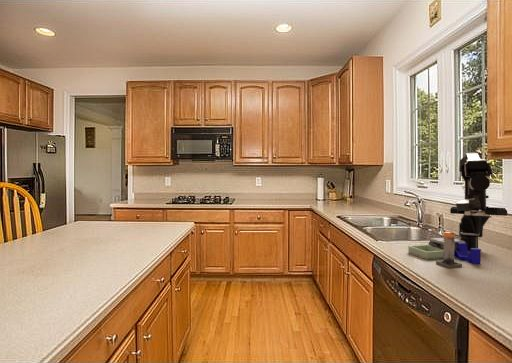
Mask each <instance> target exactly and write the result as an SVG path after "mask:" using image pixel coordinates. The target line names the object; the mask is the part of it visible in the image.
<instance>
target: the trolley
mask: <svg viewBox="0 0 512 363" xmlns="http://www.w3.org/2000/svg"><path fill="white" fill-rule="evenodd" d="M429 240H430V241H429V242H428V243H427V245H429V246H433V247H434V248H433V250H435V247H436V248H439V249H443V250H444V237H434V238H429ZM457 243H465V241H463V240H460V239H459V238H455V250H457ZM454 253H455V251H454Z"/></svg>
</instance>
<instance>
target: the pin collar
mask: <svg viewBox="0 0 512 363" xmlns="http://www.w3.org/2000/svg"><path fill="white" fill-rule="evenodd" d="M435 264H436V265H439V266H441V267H445V268H447V269H451V268H452V269H454V268H462V267H463V264H462V263H460V262H456V261H454V264H451V265H448V264H445V263H444V260H436V261H435Z"/></svg>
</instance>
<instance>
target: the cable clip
mask: <svg viewBox="0 0 512 363" xmlns="http://www.w3.org/2000/svg"><path fill="white" fill-rule="evenodd" d="M481 251H482V249H481V248H479V247H478V248H470V251H468V249H467V243H457V250H455V253H454V258H455V259H458V260H459V261H465V262H467V263H469V264H471V265H482V264H481V262H482V261H481V258H482V256H481V254H482V252H481Z"/></svg>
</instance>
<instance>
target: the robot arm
mask: <svg viewBox="0 0 512 363" xmlns="http://www.w3.org/2000/svg"><path fill="white" fill-rule="evenodd" d="M491 166H492V165H491V164H490V163H489V162H488V160H487V159H486V158H485V159H484V158H483V159H482V158H481V157H480V154H479V153H478V152H467V153H464V156H463V157H462V158H461V159H460V160H459V163H458V171H459V173H460V177H461V178H462V179H463V181H464V199H462V200H460V201H456V202H455V206H451V207H450V209H449V211H450V212H449V214H451V215H452V214H453V215H455V214H457V215H462V216H461V218H460V222H458V236H459V237H460V239H459V240H463V241H465V243H467V249H468V252H470V248H479V238H482V237H483V231H484V227H485V225H486V223H487V221H488V220H489V218H492V216H506V217H508V210H507V209H506V207H492V206H491V207H489V206H488V205H487V199H489V198H490V197H489V195H488V194H487V189H488V188H489V187H490V185H491V181H490V179H489V178H488V177H491V175H493V172H492V167H491Z"/></svg>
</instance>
